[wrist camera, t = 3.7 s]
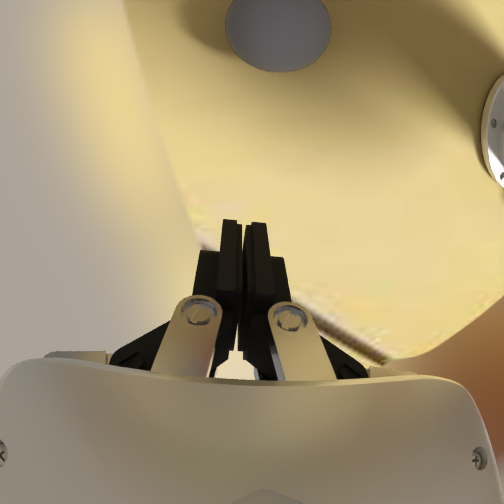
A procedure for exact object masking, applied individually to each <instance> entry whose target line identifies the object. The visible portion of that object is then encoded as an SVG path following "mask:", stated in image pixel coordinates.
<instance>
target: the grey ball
mask: <svg viewBox="0 0 504 504" xmlns="http://www.w3.org/2000/svg"><path fill="white" fill-rule="evenodd" d="M225 30H226V35H227V39H228V41H229V43H230V46H231V47H232V49H233V50H234V51H235V53H236V54H237V55H238V56H239V57H240V58H241V59H242V60H244V61H245V62H246V63H248V64H250V65H252V66H253V67H256V68H258V69H261V70H264V71H269V72H279V73H280V72H290V71H295V70H298V69H301V68H304V67H306V66H308V65H309V64H311V63H313V62H314V61H315V60H317V59H318V58H319V57H320V56H321V54H322V53H323V52H324V50H325V48H326V47H327V45H328V42H329V39H330V35H331V21H330V17H329V14H328V12H327V10H326V8H325V6H324V5H323V3H322V2H321V1H320V0H234V1H233V2H232V4H231V5H230V7H229V9H228V12H227V15H226V20H225Z"/></svg>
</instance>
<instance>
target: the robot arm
mask: <svg viewBox="0 0 504 504" xmlns="http://www.w3.org/2000/svg"><path fill="white" fill-rule="evenodd" d="M481 145H482V153H483V157H484V161H485V164H486V167H487V169H488V171H489V173H490V175H491V176H492V178H493V179H494V180H495V181H496V182H497V183H498V184H499V185H500V186H502V187H503V188H504V75H502V76H501V77H500V78H499V79H498V80H497V81H496V82H495V84H494V85H493V87H492V89H491V91H490V92H489V95H488V98H487V100H486V103H485V107H484V111H483V116H482V125H481ZM237 324H238V351H243V360H247V361H248V362H249V363H251V364H252V365H253V366H254V376H255V380H239V379H223V378H216V374H217V367H218V366H219V365H220V364H222V363H223V362H225V361H226V360H227V359H228V355H229V350H230V351H233V350H234V344H235V337H236V331H237ZM0 504H504V499H503V493H502V487H501V482H500V477H499V473H498V469H497V465H496V461H495V457H494V453H493V450H492V446H491V442H490V439H489V436H488V433H487V431H486V428H485V425H484V422H483V420H482V417H481V415H480V412H479V410H478V408H477V406H476V404H475V402H474V400H473V398H472V397H471V395H470V394H469V392H468V391H467V390H466V389H465V388H464V387H463V386H462V385H461V384H459V383H457V382H454V381H452V380H449V379H445V378H441V377H436V376H428V375H419V374H417V373H413V372H406V371H400V370H392V369H385V368H378V367H372V366H370V367H369V368H368V369H365V368H364V366H363V365H362V364H360V363H359V362H358V361H356V360H355V359H354V358H352V357H351V356H349V355H348V354H346V353H345V352H343V351H342V350H341V349H339V348H338V347H336V346H335V345H333V344H332V343H331V342H329V341H328V340H326V339H325V338H323V337H322V336H321V335H319V333H318V331H317V328H316V326H315V323H314V321H313V319H312V316H311V315H310V313H309V311H308V310H307V309H305V308H304V307H303V306H301V305H299V304H297V303H293V302H292V301H291V296H290V290H289V285H288V279H287V274H286V268H285V263H284V259H283V257H274V256H270V249H269V242H268V234H267V227H266V223H259V222H252V223H251V225H246V229H245V236H244V243H243V250H242V224H237V220H228V219H223V225H222V235H221V245H220V252H218V251H207V250H200V254H199V260H198V265H197V271H196V276H195V282H194V287H193V294H192V296H189V297H186V298H184V299H183V300H181V301H180V302H179V303H178V305H177V306H176V309H175V311H174V313H173V316H172V318H171V320H170V321H168V322H167V323H165V324H163V325H161V326H159V327H157V328H156V329H154V330H152V331H150V332H149V333H147V334H145V335H143V336H141V337H140V338H138V339H136V340H134V341H132V342H131V343H129V344H127V345H125V346H123V347H121V348H120V349H118V350H117V351H116V352H115V353H114V354H107V353H106V351H74V352H73V351H56V352H51V353H49V354H47V355H45V356H44V357H43V358H37V359H29V360H26V361H22V362H19V363H16V364H15V365H13V366H11V367H10V368H9V369H8V370H7V371H6V372H5V373H4V374H3V375H2V377H1V378H0Z"/></svg>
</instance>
